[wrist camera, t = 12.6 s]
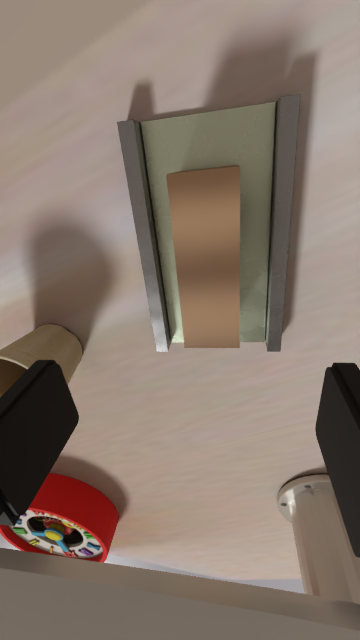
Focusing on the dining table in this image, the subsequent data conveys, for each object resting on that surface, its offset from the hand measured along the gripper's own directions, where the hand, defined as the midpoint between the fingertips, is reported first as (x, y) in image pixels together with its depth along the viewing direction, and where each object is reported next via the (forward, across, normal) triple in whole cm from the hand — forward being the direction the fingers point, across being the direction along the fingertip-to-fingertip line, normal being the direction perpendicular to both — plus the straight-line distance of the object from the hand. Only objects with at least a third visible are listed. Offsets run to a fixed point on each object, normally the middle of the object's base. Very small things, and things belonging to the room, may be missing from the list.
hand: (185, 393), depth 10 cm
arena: (+18, 0, 0) cm, 18 cm away
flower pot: (+18, +19, +10) cm, 28 cm away
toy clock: (+19, +29, +47) cm, 58 cm away
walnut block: (+18, 0, 0) cm, 18 cm away
